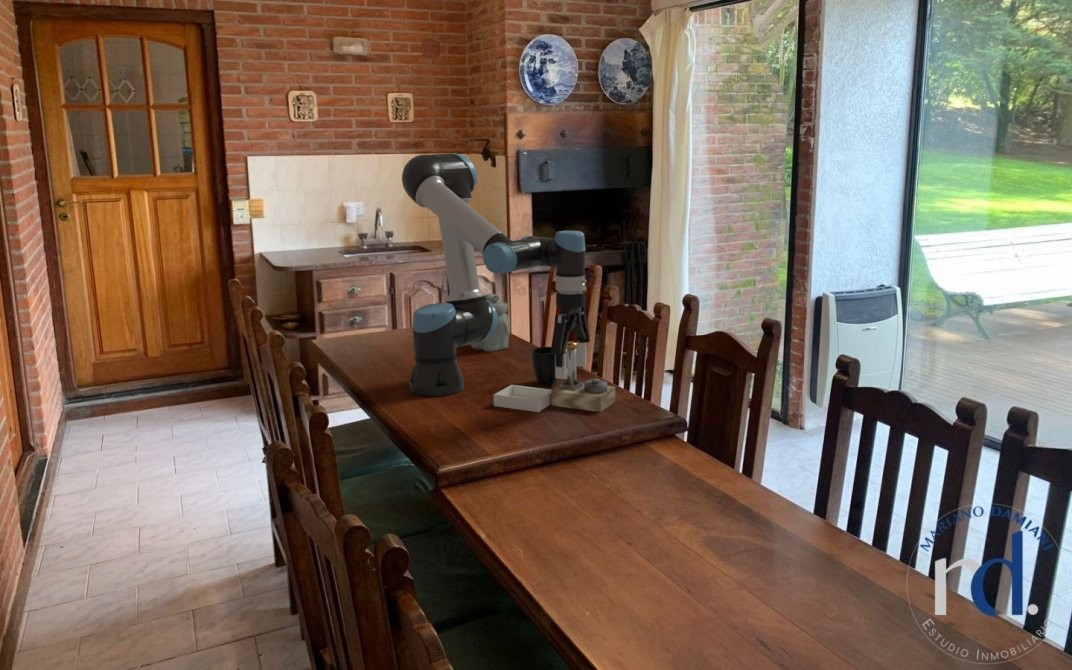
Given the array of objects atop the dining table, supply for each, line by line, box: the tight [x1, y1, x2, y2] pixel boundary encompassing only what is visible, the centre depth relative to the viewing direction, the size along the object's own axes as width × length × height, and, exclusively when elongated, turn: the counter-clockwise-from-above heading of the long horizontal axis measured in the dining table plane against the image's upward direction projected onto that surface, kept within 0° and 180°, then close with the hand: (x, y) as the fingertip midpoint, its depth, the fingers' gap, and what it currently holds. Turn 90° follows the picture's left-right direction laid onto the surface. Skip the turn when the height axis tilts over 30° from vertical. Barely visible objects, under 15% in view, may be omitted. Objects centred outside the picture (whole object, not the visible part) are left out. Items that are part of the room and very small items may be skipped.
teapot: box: [470, 292, 510, 352], centre depth 286 cm, size 16×15×19 cm
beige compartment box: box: [550, 378, 616, 413], centre depth 225 cm, size 14×10×7 cm
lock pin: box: [565, 340, 578, 386], centre depth 225 cm, size 4×4×12 cm
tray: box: [493, 384, 552, 413], centre depth 226 cm, size 13×10×3 cm
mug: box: [531, 346, 558, 386], centre depth 243 cm, size 8×12×10 cm
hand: (571, 372), depth 226 cm, fingers open, 12 cm apart
